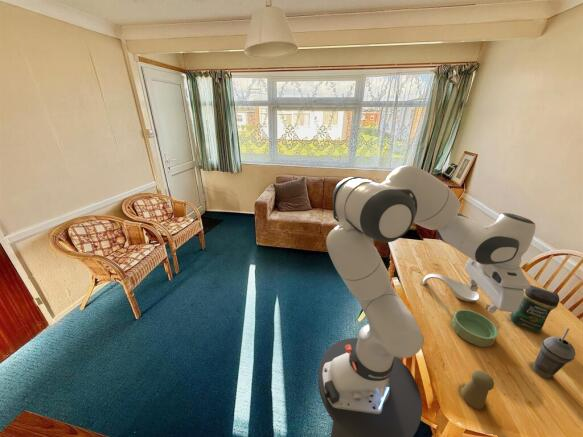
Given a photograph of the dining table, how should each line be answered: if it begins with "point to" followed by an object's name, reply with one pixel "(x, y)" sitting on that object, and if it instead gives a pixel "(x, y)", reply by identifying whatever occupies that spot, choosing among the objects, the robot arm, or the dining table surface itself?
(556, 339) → the beverage cup
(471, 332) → the bowl
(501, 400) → the dining table surface
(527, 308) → the coffee jar
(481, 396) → the brown peanut shape
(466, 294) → the spoon rest
